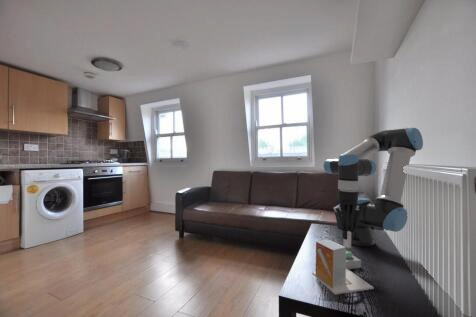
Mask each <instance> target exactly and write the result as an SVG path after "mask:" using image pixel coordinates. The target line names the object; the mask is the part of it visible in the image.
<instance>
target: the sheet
mask: <svg viewBox="0 0 476 317" xmlns="http://www.w3.org/2000/svg"><path fill="white" fill-rule="evenodd" d="M312 274H313V276H314V277H316V270H315V271H312ZM316 279H318V280H319V281H320V283H322V284H323V285H324V286H325V287H326V288H327V289H328V290H329V291H330V292H331V293H333V295H342V294H347V293H356V292H361V291H369V289H370V290H375V288H374V286H373V285H371V284H369V283H368V282H367V281H365V279H363V278H361V277H359V275H357V274H355V273H354V272H353V271H351V269H347V268H346V284H345V285H342V286H339V287H336V288H332V287H331V286H329V285H328V284H326V283H325V282H324V281H322V280H321V279H319V278H318V277H316Z"/></svg>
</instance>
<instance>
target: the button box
mask: <svg viewBox="0 0 476 317" xmlns="http://www.w3.org/2000/svg"><path fill="white" fill-rule="evenodd" d="M360 267H361V268H362V260H361V259H359V258H358V257H356V256H355V255H353V254H352V259H349V260H348V259H346V268H347V269H348V270H351V269H352V270H354V269H361V268H360Z"/></svg>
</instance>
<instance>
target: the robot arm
mask: <svg viewBox="0 0 476 317" xmlns="http://www.w3.org/2000/svg"><path fill="white" fill-rule="evenodd" d="M423 146H424V140H423V136H422V132H421V131H420V130H419V129H418V128H416V127H405V128H397V129H396V128H395V129H388V130H387V129H386V130H381V131H378V132H376V133H373V134H371V135H369V136H368V137H366V138H364V139H363V140H362V141H361V143H359V144H357V145H355V146H354V147H353V148H351V149H348V150H347V151H346V152H344V153H342V154H339V155H338V157H336V158H328V159H325V161H324V163H323V170H324V171H325V172H326V174H332V175H338V176H337V177H338V178H337V179H338V180H337V182H338V183H337V189H338V191H337V199H338V203H337V205H336V206H332V211H334V215H335V216H334V217H335V220H336V226H337V229H338V230H340V231H342V232H341V239H342V242H343V243H342V246H344V247H346V249H351V248H352V246H357V247H366V248H367V247H372V246H374V245H375V239H374V236H373V233H372V231H371V227H373V228H374V227H375V228H378V229H382V230H385V231H390V232H395V233H396V232H397V233H398V232H400V231H401V230H403V228H405V226H406V224H407V221H408V211H407V209H406V208H404V207H405V206H404V204H403V202H402V196H403V193H404V189H405V183H406V179H407V175H408V173H407V174H405V173H404V172H403V170H404V169H403V167H404V166H406V165H409V166H410V161H411V158H412V157H414V156H415V155H416V152H417V151H420V150H421V151H422V150H423ZM378 152H387V153H388V154H389V157H388V162H387V165H386V168H385V173H384V178H383V181H382V185H381V189H380V194H379V196H378V197H376V198H374V199H375V200H374V201H373V202H372V200H371V199H370V198H367V197H365V198H361V197H359V192H358V191H359V177H368V176H369V177H370V176H372V175H374V174H375V172H376V170H377V164H376V163H375V161H373V160H372V159H367V158H366V157H368V156H369V155H372V154H376V153H378Z"/></svg>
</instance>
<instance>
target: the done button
mask: <svg viewBox="0 0 476 317" xmlns="http://www.w3.org/2000/svg"><path fill="white" fill-rule="evenodd" d="M352 255H353V253H352V252H351V251H349V250H346V259H348V260H349V259H352Z"/></svg>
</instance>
